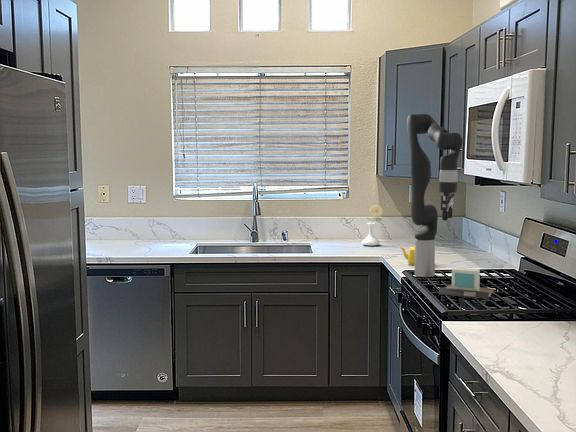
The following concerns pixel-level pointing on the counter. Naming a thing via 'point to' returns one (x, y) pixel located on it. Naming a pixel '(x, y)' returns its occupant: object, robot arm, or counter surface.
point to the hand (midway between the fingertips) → (447, 219)
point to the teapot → (410, 255)
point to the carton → (465, 278)
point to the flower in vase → (371, 239)
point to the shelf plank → (467, 292)
